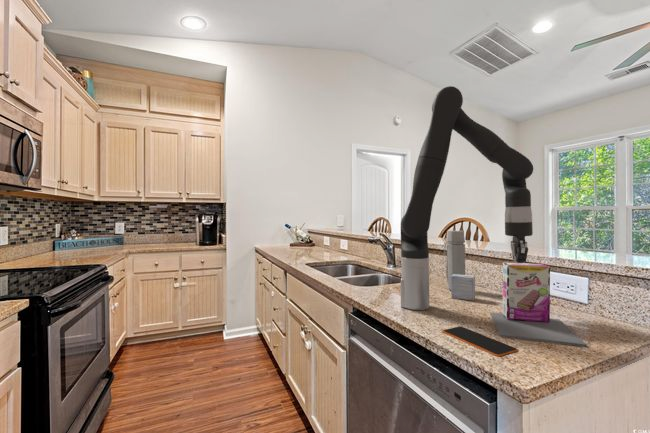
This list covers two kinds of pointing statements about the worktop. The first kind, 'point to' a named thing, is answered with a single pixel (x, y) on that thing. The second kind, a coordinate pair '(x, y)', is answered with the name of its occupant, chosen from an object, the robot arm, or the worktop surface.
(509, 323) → the rubber mat
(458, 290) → the medicine box
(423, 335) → the worktop surface
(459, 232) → the water bottle
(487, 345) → the smartphone
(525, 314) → the candy bar box
